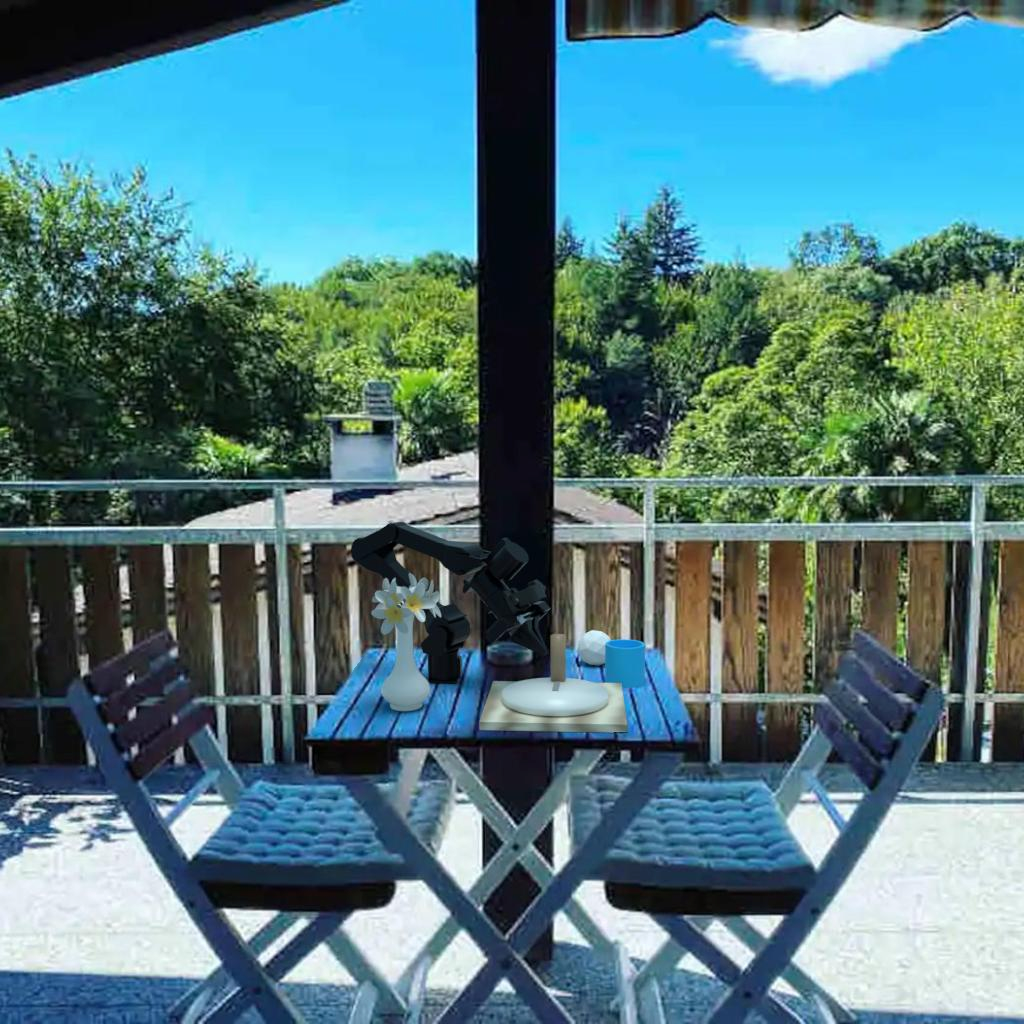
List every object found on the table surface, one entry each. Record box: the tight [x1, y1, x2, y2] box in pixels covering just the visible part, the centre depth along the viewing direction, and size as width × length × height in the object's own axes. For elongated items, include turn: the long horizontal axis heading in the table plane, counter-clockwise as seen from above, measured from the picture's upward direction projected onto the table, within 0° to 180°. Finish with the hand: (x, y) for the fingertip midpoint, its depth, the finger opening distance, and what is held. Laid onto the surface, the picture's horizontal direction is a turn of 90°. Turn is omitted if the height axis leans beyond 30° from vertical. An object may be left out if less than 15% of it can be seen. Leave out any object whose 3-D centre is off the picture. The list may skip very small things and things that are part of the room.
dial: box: [502, 633, 608, 716], centre depth 183 cm, size 20×20×10 cm
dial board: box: [478, 680, 628, 734], centre depth 184 cm, size 26×26×2 cm
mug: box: [604, 638, 646, 689], centre depth 203 cm, size 12×8×8 cm
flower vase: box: [370, 572, 441, 712], centre depth 183 cm, size 13×18×25 cm
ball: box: [577, 629, 611, 667], centre depth 215 cm, size 8×8×8 cm
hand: (545, 654), depth 192 cm, fingers closed
